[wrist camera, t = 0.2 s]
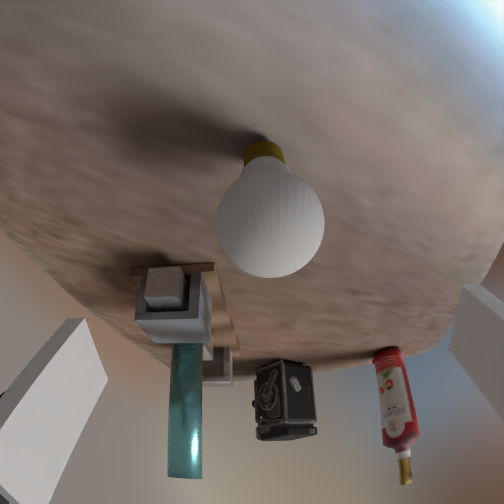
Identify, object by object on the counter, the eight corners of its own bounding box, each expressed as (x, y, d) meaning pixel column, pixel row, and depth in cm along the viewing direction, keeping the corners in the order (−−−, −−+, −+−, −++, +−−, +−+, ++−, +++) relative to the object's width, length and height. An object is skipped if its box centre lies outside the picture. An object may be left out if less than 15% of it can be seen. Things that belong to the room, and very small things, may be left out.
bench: (132, 268, 33) (121, 324, 29) (214, 262, 32) (212, 322, 29) (189, 352, 54) (188, 389, 50) (241, 351, 53) (242, 388, 49)
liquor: (377, 360, 63) (393, 483, 46) (364, 354, 59) (381, 490, 42) (408, 349, 60) (428, 476, 43) (398, 341, 55) (420, 482, 38)
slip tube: (144, 268, 30) (123, 477, 18) (184, 266, 30) (173, 483, 18) (188, 339, 44) (185, 474, 33) (216, 338, 44) (216, 475, 33)
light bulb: (264, 192, 25) (274, 307, 19) (203, 154, 22) (190, 273, 16) (321, 147, 22) (356, 262, 16) (260, 97, 19) (273, 207, 13)
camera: (242, 370, 62) (244, 441, 53) (277, 355, 56) (282, 437, 47) (281, 376, 68) (285, 441, 58) (316, 363, 61) (323, 435, 52)
